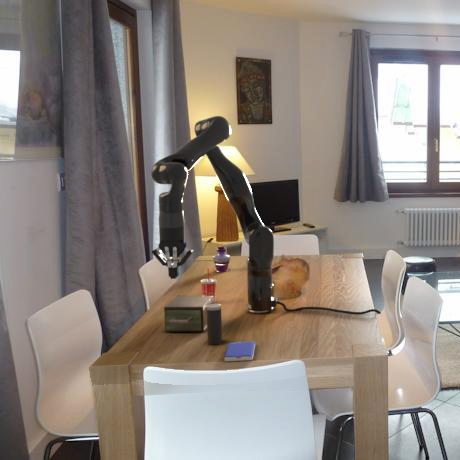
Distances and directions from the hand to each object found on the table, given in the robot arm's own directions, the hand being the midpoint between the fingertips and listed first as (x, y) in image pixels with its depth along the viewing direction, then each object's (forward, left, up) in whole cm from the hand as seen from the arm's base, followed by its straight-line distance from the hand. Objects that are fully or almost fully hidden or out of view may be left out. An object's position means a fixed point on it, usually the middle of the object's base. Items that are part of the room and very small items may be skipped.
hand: (174, 278), depth 202 cm
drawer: (0, -12, -20) cm, 23 cm away
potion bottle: (+9, -100, -21) cm, 103 cm away
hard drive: (-23, +12, -21) cm, 34 cm away
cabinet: (0, -16, -21) cm, 26 cm away
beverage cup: (+1, -45, -21) cm, 50 cm away
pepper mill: (-13, +2, -21) cm, 25 cm away
